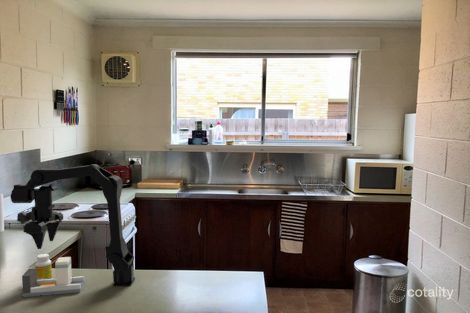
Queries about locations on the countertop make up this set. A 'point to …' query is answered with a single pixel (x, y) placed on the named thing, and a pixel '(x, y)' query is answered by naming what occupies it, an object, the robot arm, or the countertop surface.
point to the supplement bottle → (43, 267)
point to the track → (48, 285)
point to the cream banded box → (63, 271)
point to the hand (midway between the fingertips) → (45, 244)
